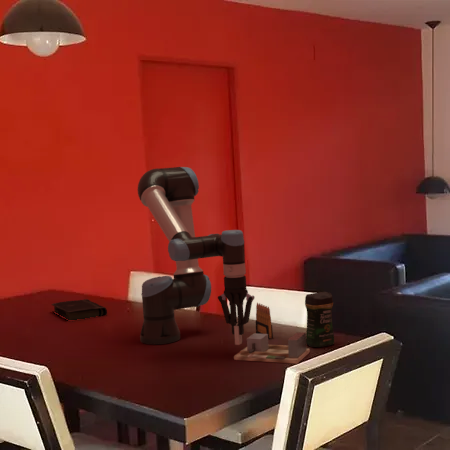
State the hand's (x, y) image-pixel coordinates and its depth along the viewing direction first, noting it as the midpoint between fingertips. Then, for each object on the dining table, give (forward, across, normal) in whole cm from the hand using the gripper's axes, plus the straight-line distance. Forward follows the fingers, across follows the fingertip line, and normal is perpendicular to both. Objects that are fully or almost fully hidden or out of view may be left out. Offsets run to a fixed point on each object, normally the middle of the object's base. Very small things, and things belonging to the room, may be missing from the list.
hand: (238, 343), depth 253 cm
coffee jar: (+4, +24, +17) cm, 30 cm away
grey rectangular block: (+2, +7, -2) cm, 8 cm away
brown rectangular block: (+2, +21, 0) cm, 21 cm away
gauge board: (+4, +12, 0) cm, 13 cm away
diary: (+4, -97, +46) cm, 108 cm away
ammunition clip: (+4, 0, +25) cm, 25 cm away
